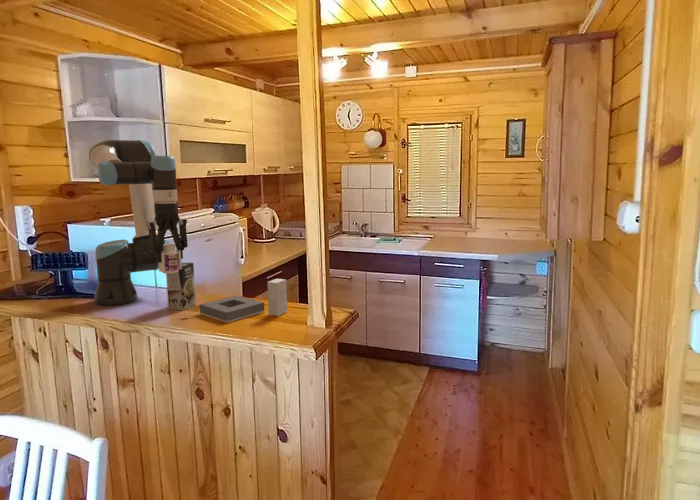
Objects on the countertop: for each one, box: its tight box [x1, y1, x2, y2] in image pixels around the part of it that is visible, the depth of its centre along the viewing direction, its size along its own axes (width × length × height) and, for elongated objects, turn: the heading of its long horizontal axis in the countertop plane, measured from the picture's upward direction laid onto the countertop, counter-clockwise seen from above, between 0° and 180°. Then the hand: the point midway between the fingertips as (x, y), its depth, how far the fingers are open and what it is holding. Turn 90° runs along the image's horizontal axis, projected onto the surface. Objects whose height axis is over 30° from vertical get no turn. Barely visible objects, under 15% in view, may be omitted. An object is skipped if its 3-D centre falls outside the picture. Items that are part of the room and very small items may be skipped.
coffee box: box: [166, 262, 197, 311], centre depth 183 cm, size 9×6×16 cm
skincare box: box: [267, 278, 288, 317], centre depth 174 cm, size 6×4×12 cm
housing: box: [199, 294, 265, 323], centre depth 176 cm, size 16×16×4 cm
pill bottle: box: [162, 243, 179, 275], centre depth 168 cm, size 5×5×10 cm
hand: (170, 270), depth 169 cm, fingers closed on pill bottle, 5 cm apart
